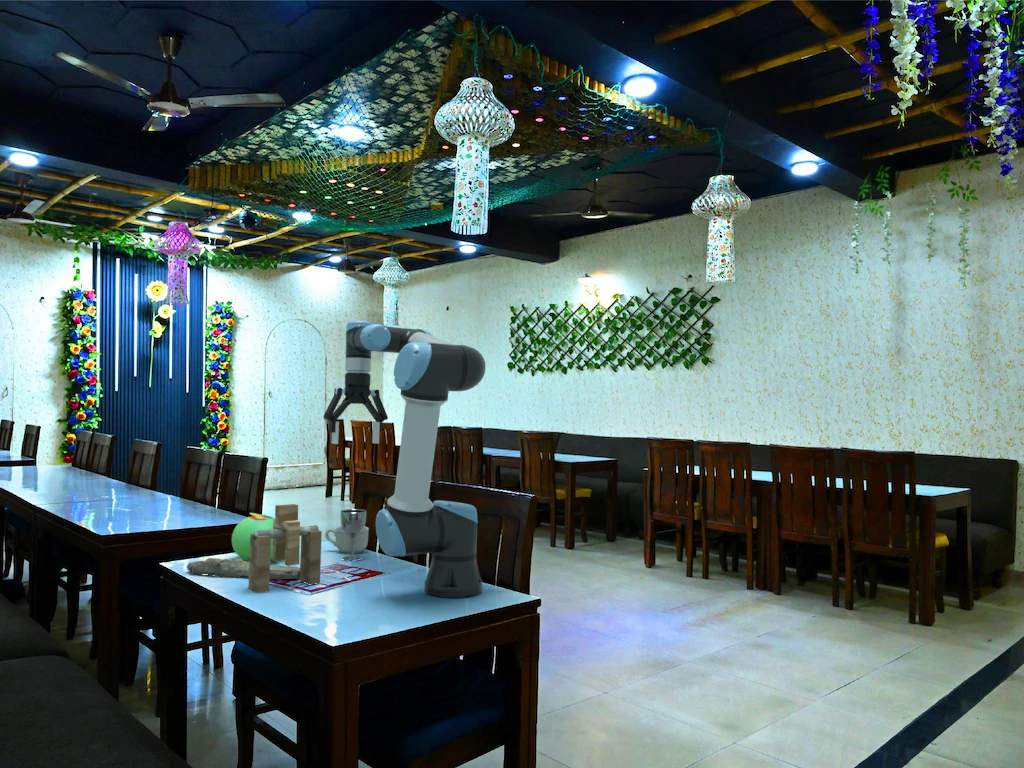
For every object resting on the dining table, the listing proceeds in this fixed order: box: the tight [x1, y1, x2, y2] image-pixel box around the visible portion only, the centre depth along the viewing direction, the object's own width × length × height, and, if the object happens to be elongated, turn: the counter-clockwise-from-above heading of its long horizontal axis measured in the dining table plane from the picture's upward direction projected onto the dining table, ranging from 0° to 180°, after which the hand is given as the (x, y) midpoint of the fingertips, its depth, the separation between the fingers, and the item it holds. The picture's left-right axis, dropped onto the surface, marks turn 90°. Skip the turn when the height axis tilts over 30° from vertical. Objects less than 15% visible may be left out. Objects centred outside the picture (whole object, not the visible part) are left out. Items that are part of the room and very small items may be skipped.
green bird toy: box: [231, 512, 275, 562], centre depth 220 cm, size 18×17×15 cm
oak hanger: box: [272, 503, 301, 566], centre depth 190 cm, size 10×5×15 cm, turn 41°
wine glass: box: [340, 508, 367, 560], centre depth 226 cm, size 8×8×15 cm
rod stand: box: [248, 524, 323, 594], centre depth 190 cm, size 6×17×15 cm, turn 131°
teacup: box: [324, 525, 370, 554], centre depth 237 cm, size 14×11×8 cm
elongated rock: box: [186, 557, 300, 580], centre depth 201 cm, size 35×5×10 cm
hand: (355, 443), depth 215 cm, fingers open, 13 cm apart
